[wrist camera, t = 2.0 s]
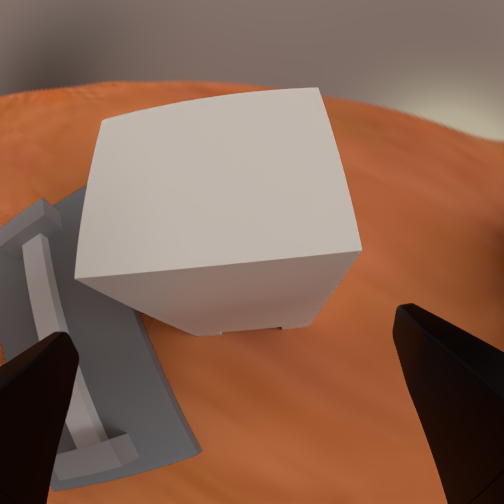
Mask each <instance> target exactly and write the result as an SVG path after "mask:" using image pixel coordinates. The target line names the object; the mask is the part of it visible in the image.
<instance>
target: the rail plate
mask: <svg viewBox="0 0 504 504" xmlns="http://www.w3.org/2000/svg"><path fill="white" fill-rule="evenodd" d="M86 189H87V185H86V186H84V187H82V188H81V189H79V190H78V191H76V192H74V193H73V194H71V195H69V196H68V197H66V198H65V199H63V200H62V201H60V202H58V203H57V204H55V205H54V206H52V205H51V204H49V203H48V202H47V201H46V200H45V199H44V198H41V199H40V200H38V201H37V202H35V203H34V204H32V205H31V206H30V207H28V208H27V209H25V210H24V211H23V212H21V213H20V214H18V215H17V216H16V217H14V218H13V219H12V220H10V221H9V222H8V223H6V224H5V225H4V226H2V227H1V228H0V338H1V343H2V348H3V353H4V357H5V361H6V363H7V362H8V361H10V360H11V359H13V358H14V357H16V356H17V355H19V354H20V353H22V352H23V351H25V350H27V349H28V348H30V347H31V346H33V345H34V344H36V343H37V342H39V341H41V340H42V339H44V338H45V337H47V336H48V335H50V334H52V333H53V332H56V331H65V332H67V333H68V334H69V335H70V337H71V339H72V341H73V343H74V345H75V347H76V349H77V351H78V353H79V365H78V369H77V373H76V378H75V383H74V388H73V393H72V398H71V402H70V406H69V410H68V413H67V417H66V420H65V424H64V428H63V431H62V435H61V439H60V443H59V447H58V451H57V455H56V459H55V464H54V468H53V473H52V477H51V482H50V485H51V487H52V489H53V491H60V490H66V489H72V488H78V487H83V486H88V485H93V484H98V483H102V482H107V481H111V480H116V479H120V478H124V477H128V476H131V475H135V474H139V473H142V472H146V471H149V470H153V469H156V468H160V467H163V466H166V465H169V464H172V463H175V462H178V461H181V460H184V459H187V458H190V457H193V456H196V455H198V454H199V453H200V452H201V451H202V449H201V447H200V445H199V444H198V442H197V440H196V438H195V436H194V434H193V432H192V430H191V428H190V426H189V424H188V423H187V421H186V419H185V417H184V415H183V413H182V411H181V408H180V406H179V404H178V402H177V400H176V398H175V396H174V394H173V392H172V390H171V387H170V385H169V383H168V381H167V379H166V377H165V374H164V372H163V370H162V368H161V365H160V363H159V361H158V358H157V356H156V354H155V351H154V349H153V346H152V344H151V342H150V339H149V337H148V334H147V332H146V329H145V327H144V324H143V321H142V319H141V316H140V314H139V311H138V310H136V309H134V308H131V307H129V306H127V305H125V304H123V303H121V302H119V301H117V300H115V299H113V298H111V297H109V296H107V295H105V294H103V293H101V292H99V291H97V290H95V289H93V288H91V287H89V286H87V285H85V284H83V283H82V282H80V281H78V280H76V279H74V277H75V266H76V256H77V247H78V239H79V232H80V224H81V218H82V211H83V205H84V200H85V194H86Z"/></svg>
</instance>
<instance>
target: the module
mask: <svg viewBox="0 0 504 504" xmlns="http://www.w3.org/2000/svg"><path fill="white" fill-rule="evenodd" d="M361 251H362V247H361V242H360V237H359V233H358V228H357V224H356V219H355V215H354V210H353V206H352V202H351V198H350V194H349V190H348V186H347V182H346V178H345V174H344V171H343V167H342V163H341V160H340V156H339V153H338V149H337V146H336V142H335V139H334V135H333V132H332V129H331V126H330V122H329V119H328V116H327V113H326V110H325V107H324V104H323V100H322V97H321V95H320V92H319V89H318V88H296V89H281V90H268V91H257V92H247V93H238V94H230V95H223V96H215V97H209V98H202V99H196V100H190V101H184V102H179V103H173V104H168V105H163V106H158V107H154V108H149V109H145V110H140V111H136V112H132V113H128V114H124V115H120V116H116V117H112V118H108V119H105V120H102V124H101V127H100V131H99V135H98V139H97V143H96V147H95V151H94V155H93V160H92V164H91V169H90V174H89V178H88V183H87V189H86V194H85V200H84V205H83V211H82V218H81V224H80V232H79V239H78V247H77V256H76V266H75V277H74V279H76V280H78V281H80V282H82V283H83V284H85V285H87V286H89V287H91V288H93V289H95V290H97V291H99V292H101V293H103V294H105V295H107V296H109V297H111V298H113V299H115V300H117V301H119V302H121V303H123V304H125V305H127V306H129V307H131V308H134V309H136V310H138V311H140V312H142V313H144V314H146V315H149V316H151V317H153V318H155V319H157V320H160V321H162V322H164V323H166V324H169V325H171V326H173V327H175V328H178V329H180V330H182V331H185V332H187V333H189V334H192V335H194V336H197V337H198V336H215V335H222V332H230V331H242V330H254V329H265V328H275V327H282V330H284V329H294V328H302V327H308V326H309V325H310V324H311V322H312V321H313V320H314V318H315V317H316V315H317V314H318V313H319V311H320V310H321V309H322V307H323V306H324V305H325V303H326V302H327V300H328V299H329V298H330V296H331V295H332V293H333V292H334V291H335V289H336V288H337V286H338V285H339V284H340V282H341V281H342V279H343V278H344V276H345V275H346V274H347V272H348V271H349V269H350V268H351V266H352V265H353V263H354V262H355V260H356V259H357V257H358V256H359V254H360V253H361Z"/></svg>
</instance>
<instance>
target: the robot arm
mask: <svg viewBox="0 0 504 504" xmlns="http://www.w3.org/2000/svg"><path fill="white" fill-rule="evenodd" d="M393 340H394V343H395V346H396V350H397V353H398V356H399V360H400V363H401V367H402V370H403V374H404V378H405V381H406V384H407V387H408V390H409V393H410V395H411V398H412V400H413V403H414V406H415V408H416V411H417V413H418V416H419V419H420V421H421V424H422V427H423V429H424V432H425V435H426V438H427V441H428V443H429V446H430V449H431V452H432V455H433V458H434V461H435V464H436V467H437V470H438V473H439V476H440V479H441V483H442V486H443V489H444V492H445V496H446V499H447V502H448V504H504V352H502V351H501V350H499V349H497V348H495V347H493V346H492V345H490V344H488V343H486V342H484V341H482V340H481V339H479V338H477V337H475V336H473V335H471V334H470V333H468V332H466V331H464V330H462V329H460V328H459V327H457V326H455V325H453V324H451V323H449V322H447V321H445V320H444V319H442V318H440V317H438V316H436V315H434V314H432V313H430V312H428V311H427V310H425V309H423V308H421V307H419V306H417V305H415V304H413V303H409V304H403V305H399V306H398V307H397V309H396V314H395V320H394V326H393ZM78 365H79V353H78V351H77V349H76V347H75V345H74V343H73V341H72V339H71V337H70V335H69V334H68V333H67V332H65V331H56V332H53V333H52V334H50V335H48V336H47V337H45V338H44V339H42V340H41V341H39V342H37V343H36V344H34V345H33V346H31V347H30V348H28V349H27V350H25V351H23V352H22V353H20V354H19V355H17V356H16V357H14V358H13V359H11V360H10V361H8V362H7V363H5V364H4V365H2V366H1V367H0V504H46V503H47V498H48V492H49V487H50V482H51V477H52V473H53V468H54V464H55V459H56V455H57V451H58V447H59V443H60V439H61V435H62V431H63V428H64V424H65V420H66V417H67V413H68V410H69V406H70V402H71V398H72V393H73V388H74V383H75V378H76V373H77V369H78Z"/></svg>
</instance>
